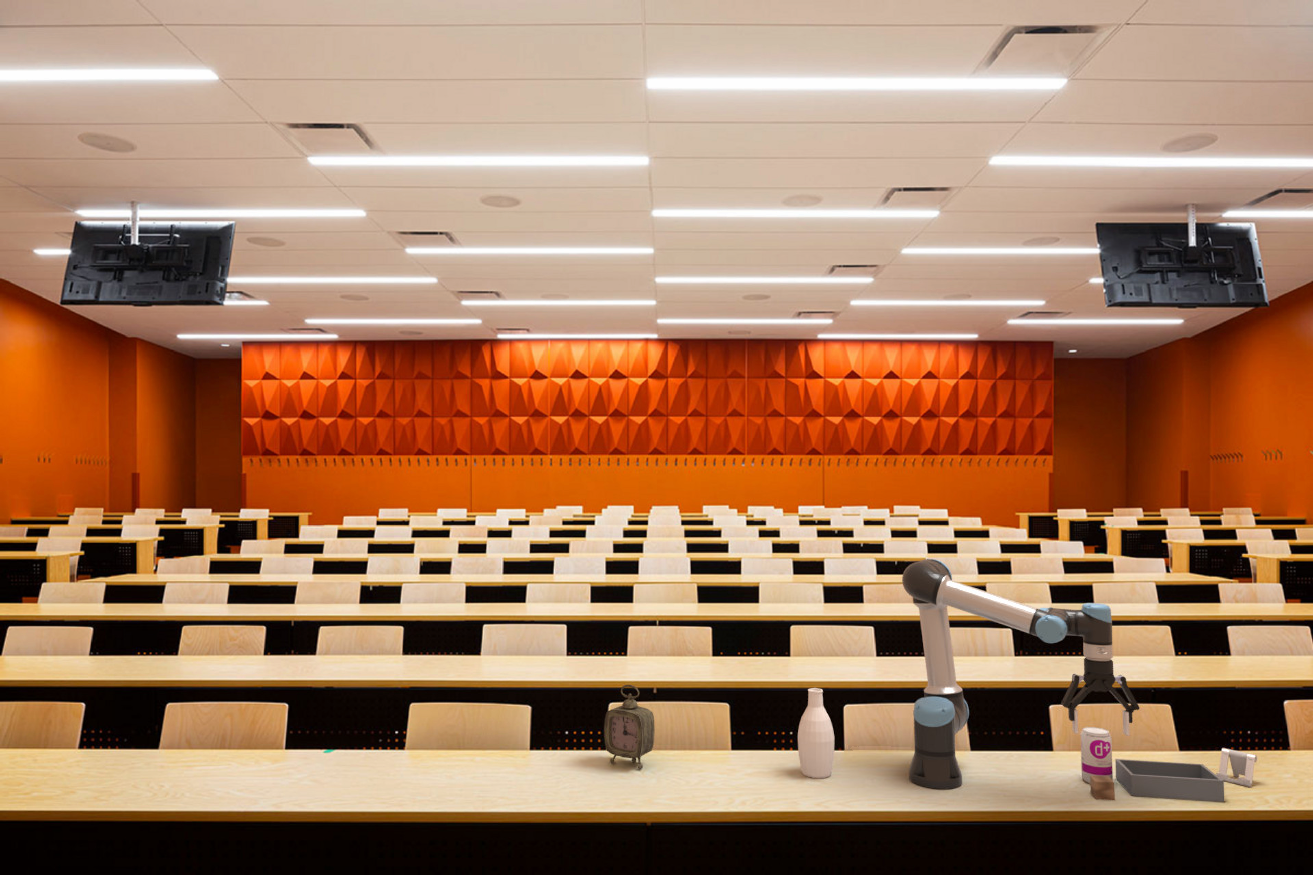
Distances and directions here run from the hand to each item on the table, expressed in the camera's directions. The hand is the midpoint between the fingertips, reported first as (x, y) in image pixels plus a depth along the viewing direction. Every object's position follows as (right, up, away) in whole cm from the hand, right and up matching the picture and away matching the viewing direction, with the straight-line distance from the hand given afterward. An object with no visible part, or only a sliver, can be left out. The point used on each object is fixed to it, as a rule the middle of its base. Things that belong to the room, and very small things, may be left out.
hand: (1100, 733), depth 247 cm
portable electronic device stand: (+46, -18, +10) cm, 50 cm away
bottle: (-78, -19, +18) cm, 82 cm away
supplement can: (+4, -18, +10) cm, 21 cm away
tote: (+21, -17, +3) cm, 27 cm away
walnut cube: (-1, -17, -2) cm, 17 cm away
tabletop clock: (-135, -19, +27) cm, 139 cm away
